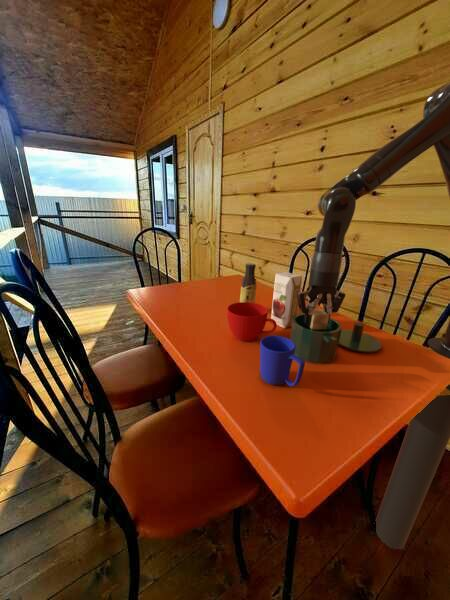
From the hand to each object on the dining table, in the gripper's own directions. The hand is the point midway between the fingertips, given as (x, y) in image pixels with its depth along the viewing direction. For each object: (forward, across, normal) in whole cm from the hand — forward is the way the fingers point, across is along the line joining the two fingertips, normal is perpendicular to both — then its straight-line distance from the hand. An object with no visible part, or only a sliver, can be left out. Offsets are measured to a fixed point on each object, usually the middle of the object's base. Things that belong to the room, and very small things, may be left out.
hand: (315, 325), depth 75 cm
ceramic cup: (+9, -17, +9) cm, 21 cm away
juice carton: (+9, -2, +20) cm, 22 cm away
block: (0, 0, 0) cm, 0 cm away
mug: (+9, -15, -14) cm, 22 cm away
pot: (+9, 0, 0) cm, 9 cm away
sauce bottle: (+9, -13, +34) cm, 37 cm away
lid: (+8, +17, +4) cm, 19 cm away
